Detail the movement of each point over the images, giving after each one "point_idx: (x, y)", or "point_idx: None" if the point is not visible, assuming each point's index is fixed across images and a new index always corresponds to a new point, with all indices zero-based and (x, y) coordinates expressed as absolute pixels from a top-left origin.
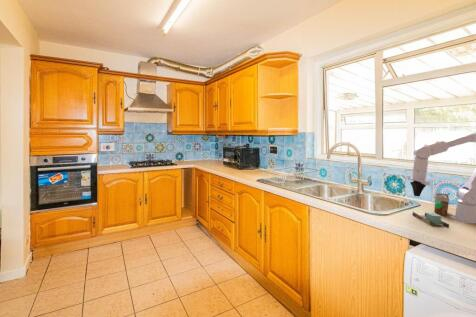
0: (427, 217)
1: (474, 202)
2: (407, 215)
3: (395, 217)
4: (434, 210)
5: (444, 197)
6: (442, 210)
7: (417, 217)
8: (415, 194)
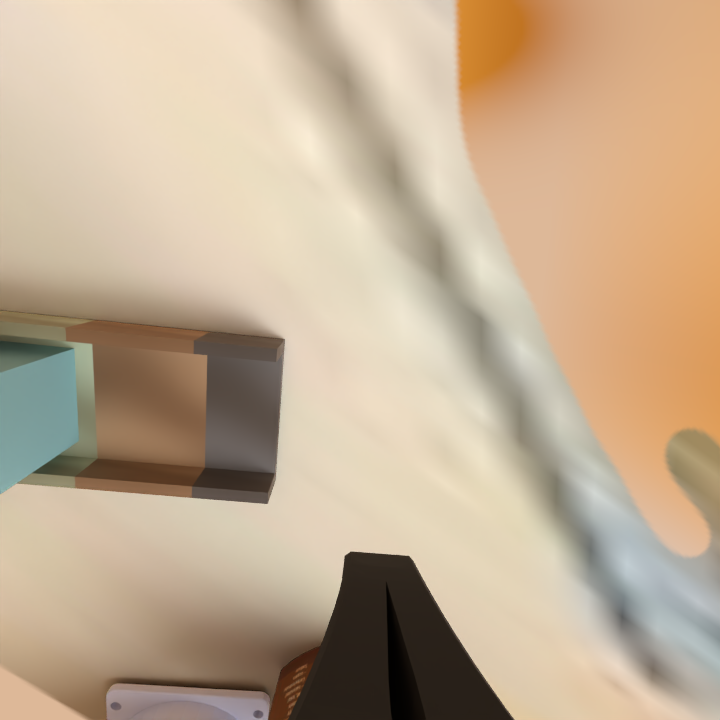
0: (6, 358)
1: None
2: (277, 273)
3: (164, 18)
4: None
5: None
6: None
7: (178, 331)
8: (342, 578)
